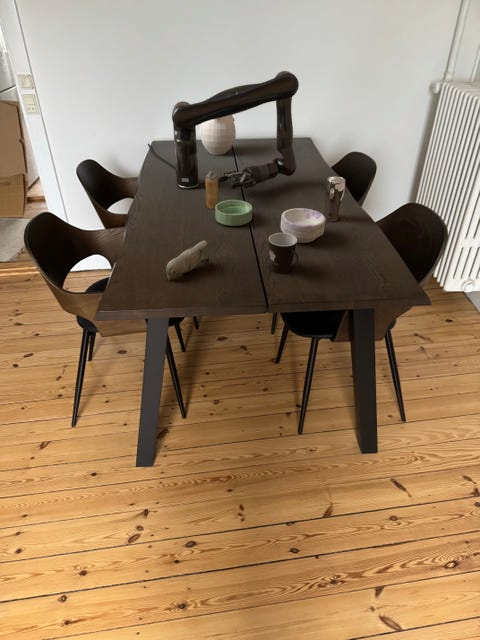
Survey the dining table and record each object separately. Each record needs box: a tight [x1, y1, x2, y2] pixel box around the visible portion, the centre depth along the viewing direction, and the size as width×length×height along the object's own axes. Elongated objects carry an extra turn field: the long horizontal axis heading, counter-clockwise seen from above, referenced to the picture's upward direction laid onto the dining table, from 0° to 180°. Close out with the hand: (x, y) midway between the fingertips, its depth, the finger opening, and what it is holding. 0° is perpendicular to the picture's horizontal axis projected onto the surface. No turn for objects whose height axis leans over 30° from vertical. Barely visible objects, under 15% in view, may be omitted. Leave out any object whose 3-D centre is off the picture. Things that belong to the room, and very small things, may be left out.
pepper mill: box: [204, 170, 219, 210], centre depth 168 cm, size 5×5×14 cm
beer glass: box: [322, 175, 346, 223], centre depth 160 cm, size 7×7×15 cm
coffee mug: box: [268, 232, 299, 274], centre depth 131 cm, size 12×9×10 cm
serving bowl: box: [214, 199, 253, 227], centre depth 161 cm, size 14×14×5 cm
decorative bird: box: [165, 240, 210, 281], centre depth 131 cm, size 5×16×8 cm, turn 137°
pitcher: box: [199, 98, 237, 156], centre depth 220 cm, size 19×18×25 cm
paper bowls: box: [280, 207, 327, 244], centre depth 149 cm, size 15×15×8 cm
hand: (225, 183), depth 171 cm, fingers open, 8 cm apart
